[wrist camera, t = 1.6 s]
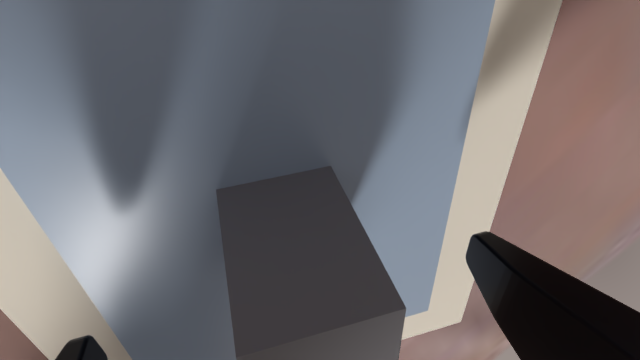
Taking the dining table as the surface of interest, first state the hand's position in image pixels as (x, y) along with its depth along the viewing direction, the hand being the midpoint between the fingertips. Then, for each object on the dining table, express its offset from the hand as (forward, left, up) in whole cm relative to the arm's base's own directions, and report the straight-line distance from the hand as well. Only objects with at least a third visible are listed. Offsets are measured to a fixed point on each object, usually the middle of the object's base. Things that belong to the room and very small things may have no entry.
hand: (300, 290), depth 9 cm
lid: (0, 0, -3) cm, 3 cm away
